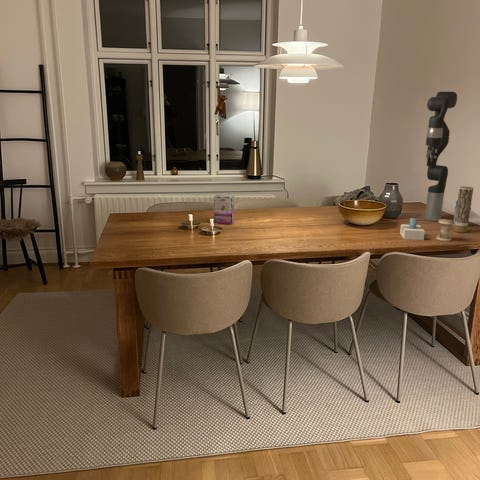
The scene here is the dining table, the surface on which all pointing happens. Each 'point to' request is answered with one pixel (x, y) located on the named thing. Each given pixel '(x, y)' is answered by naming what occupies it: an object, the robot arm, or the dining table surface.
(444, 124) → the robot arm
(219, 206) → the candy bar box
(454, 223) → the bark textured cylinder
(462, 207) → the bark textured pillar
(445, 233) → the bobbin
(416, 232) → the notched board
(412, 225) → the tab peg
